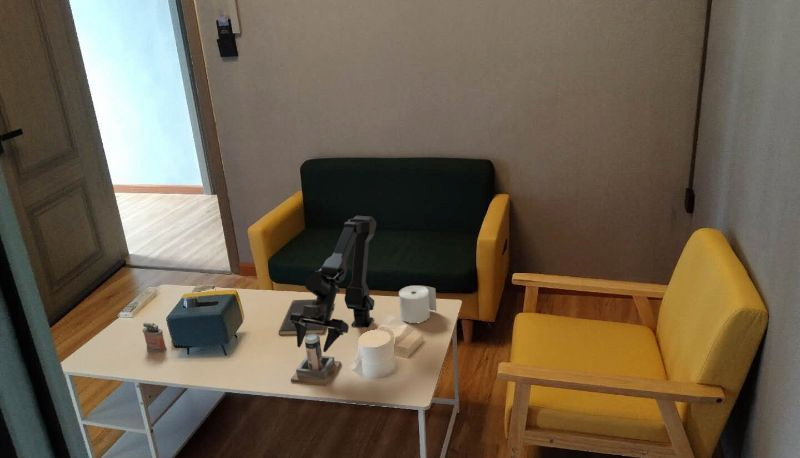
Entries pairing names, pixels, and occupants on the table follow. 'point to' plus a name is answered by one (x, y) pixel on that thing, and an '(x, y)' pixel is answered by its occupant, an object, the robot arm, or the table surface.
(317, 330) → the hardcover book
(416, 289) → the toilet tissue
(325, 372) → the socket board
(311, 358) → the beer can
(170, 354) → the table surface
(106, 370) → the table surface
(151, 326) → the lighter
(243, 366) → the table surface
